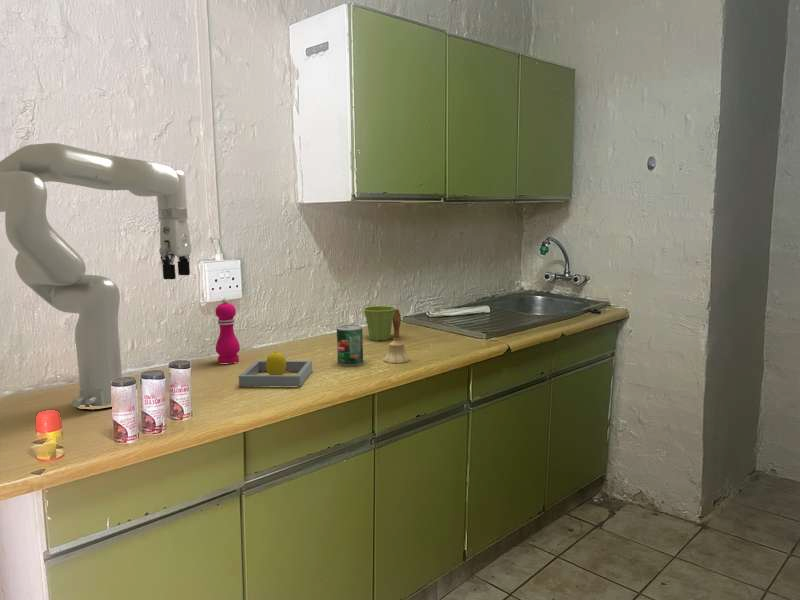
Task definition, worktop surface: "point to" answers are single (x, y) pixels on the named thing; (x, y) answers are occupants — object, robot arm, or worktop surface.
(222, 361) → the pepper mill
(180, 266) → the robot arm
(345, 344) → the canned tomato
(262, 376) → the box
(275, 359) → the lemon
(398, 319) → the hand bell
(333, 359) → the worktop surface
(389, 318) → the plant pot
